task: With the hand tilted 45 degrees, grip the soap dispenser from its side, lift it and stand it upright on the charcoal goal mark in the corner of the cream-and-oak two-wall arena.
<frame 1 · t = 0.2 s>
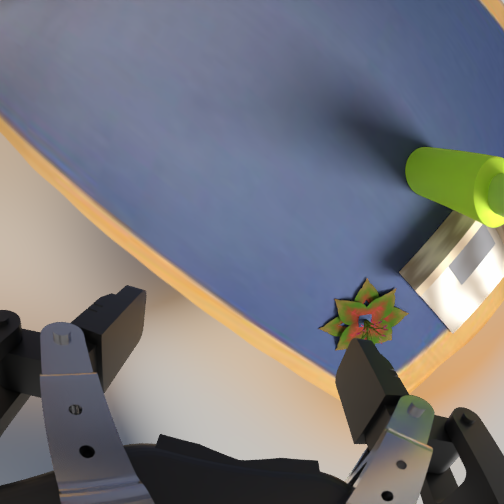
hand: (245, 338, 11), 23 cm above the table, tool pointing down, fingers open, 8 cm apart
corner arena: (466, 264, 34), on the table
soap dispenser: (422, 168, 30), on the table
lily flower: (364, 318, 37), on the table
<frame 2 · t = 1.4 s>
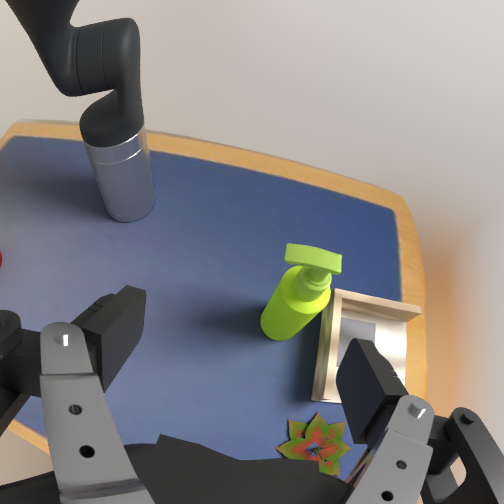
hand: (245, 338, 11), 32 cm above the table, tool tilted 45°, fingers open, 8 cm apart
corner arena: (364, 355, 43), on the table
soap dispenser: (276, 321, 45), on the table
lily flower: (312, 448, 36), on the table
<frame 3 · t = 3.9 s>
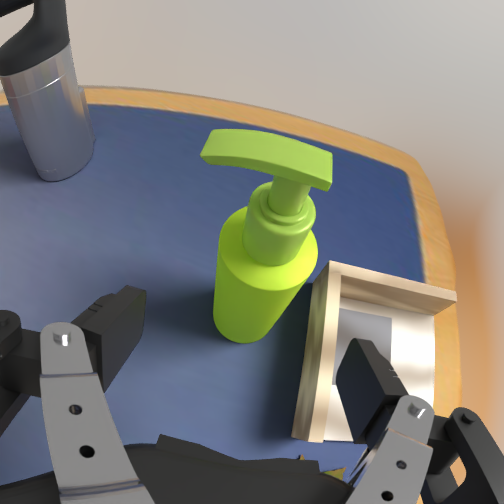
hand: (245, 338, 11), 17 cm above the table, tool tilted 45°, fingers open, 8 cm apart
corner arena: (375, 366, 28), on the table
soap dispenser: (238, 313, 29), on the table
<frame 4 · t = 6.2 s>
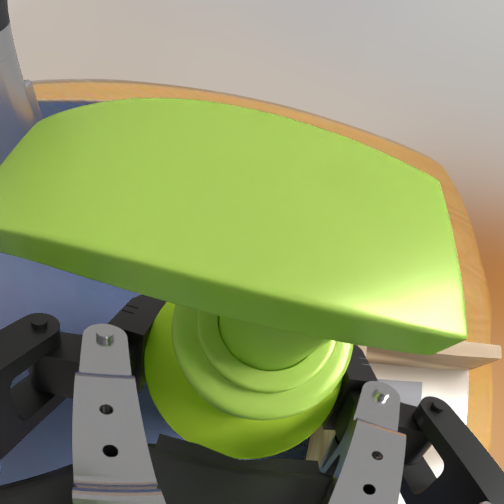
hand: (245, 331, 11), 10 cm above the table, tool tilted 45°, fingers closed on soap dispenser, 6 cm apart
corner arena: (398, 444, 18), on the table
soap dispenser: (220, 389, 20), on the table, touching gripper
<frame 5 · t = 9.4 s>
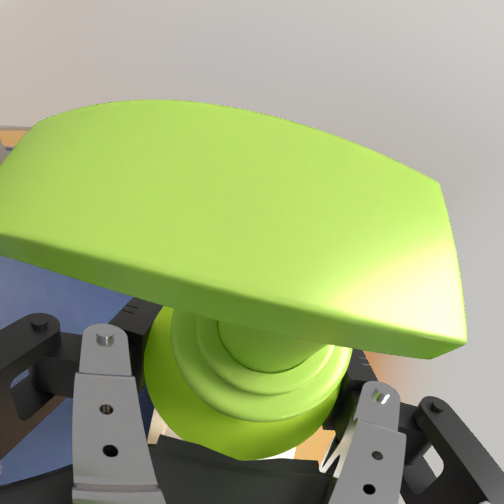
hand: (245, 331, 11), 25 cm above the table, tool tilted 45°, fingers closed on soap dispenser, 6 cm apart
corner arena: (233, 406, 31), on the table
soap dispenser: (219, 390, 20), point 14 cm above the table, touching gripper
when the fingers open (12 cm above the table, at t = 12.9 s): soap dispenser drops 1 cm, resting on corner arena.
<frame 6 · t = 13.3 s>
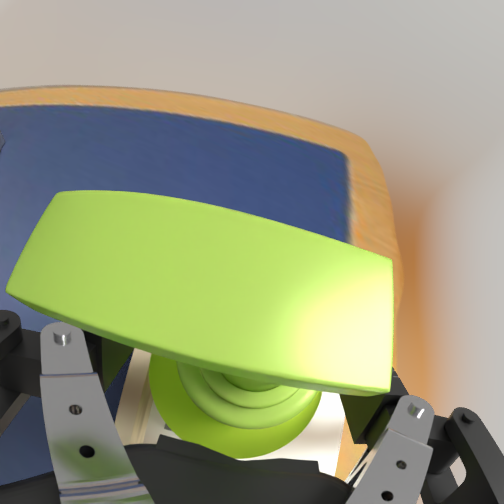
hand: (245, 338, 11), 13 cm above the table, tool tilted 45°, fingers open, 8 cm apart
corner arena: (243, 415, 20), on the table
soap dispenser: (214, 392, 21), resting on corner arena
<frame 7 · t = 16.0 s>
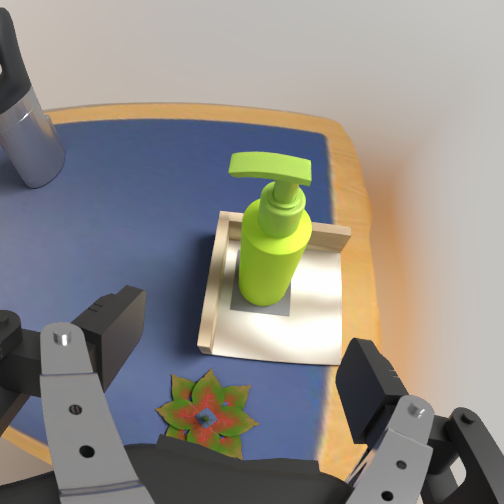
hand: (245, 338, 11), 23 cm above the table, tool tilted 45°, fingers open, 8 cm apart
corner arena: (277, 296, 37), on the table
soap dispenser: (258, 283, 37), resting on corner arena
lily flower: (206, 417, 30), on the table
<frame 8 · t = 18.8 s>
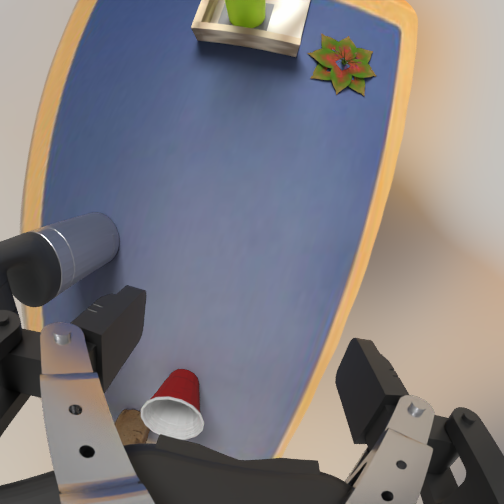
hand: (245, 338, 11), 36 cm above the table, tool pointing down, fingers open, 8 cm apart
plastic cup: (185, 379, 54), on the table
corner arena: (257, 9, 37), on the table
soap dispenser: (246, 18, 37), resting on corner arena
block: (137, 421, 58), on the table
lily flower: (342, 65, 40), on the table
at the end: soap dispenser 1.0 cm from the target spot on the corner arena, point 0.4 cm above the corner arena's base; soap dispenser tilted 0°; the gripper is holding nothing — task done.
